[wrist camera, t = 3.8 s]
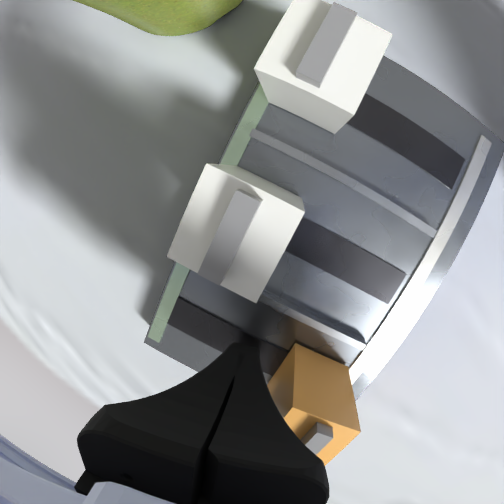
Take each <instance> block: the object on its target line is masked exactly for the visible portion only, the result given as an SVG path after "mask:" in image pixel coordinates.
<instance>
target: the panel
mask: <svg viewBox="0 0 504 504" xmlns="http://www.w3.org/2000/svg"><path fill="white" fill-rule="evenodd" d="M503 152H504V142H503V141H502V140H501V139H499V138H498V137H497V136H496V135H495V134H494V133H493V132H492V131H490V130H489V129H488V128H487V127H486V126H485V125H483V124H482V123H481V122H480V121H479V120H477V119H476V118H475V117H474V116H472V115H471V114H470V113H469V112H467V111H466V110H465V109H464V108H462V107H461V106H460V105H458V104H457V103H456V102H454V101H453V100H452V99H450V98H449V97H448V96H446V95H445V94H443V93H442V92H441V91H439V90H438V89H436V88H435V87H433V86H432V85H430V84H429V83H427V82H426V81H424V80H423V79H421V78H420V77H418V76H417V75H415V74H414V73H412V72H410V71H409V70H407V69H406V68H404V67H402V66H401V65H399V64H397V63H396V62H394V61H392V60H390V59H389V58H387V57H385V56H383V57H382V59H381V61H380V63H379V65H378V67H377V69H376V71H375V74H374V76H373V78H372V80H371V82H370V84H369V86H368V88H367V90H366V92H365V94H364V96H363V98H362V100H361V103H360V105H359V107H358V109H357V111H356V113H355V115H354V116H353V117H352V118H351V119H350V120H349V121H348V122H347V123H346V124H345V125H344V126H343V127H342V128H341V129H339V130H338V131H337V132H336V133H335V134H333V133H331V132H330V131H328V130H326V129H324V128H322V127H320V126H318V125H316V124H314V123H312V122H310V121H308V120H306V119H304V118H302V117H300V116H298V115H295V114H293V113H291V112H289V111H287V110H285V109H283V108H280V107H278V106H276V105H274V104H272V103H269V102H268V100H267V97H266V95H265V93H264V91H263V88H262V86H261V84H260V81H259V82H258V84H257V86H256V88H255V90H254V92H253V94H252V96H251V97H250V99H249V101H248V103H247V105H246V107H245V109H244V111H243V113H242V115H241V117H240V119H239V121H238V123H237V125H236V127H235V129H234V131H233V133H232V135H231V137H230V139H229V141H228V143H227V146H226V148H225V150H224V152H223V154H222V156H221V158H220V160H219V162H218V164H223V165H235V166H239V167H241V168H243V169H245V170H247V171H249V172H251V173H253V174H255V175H257V176H259V177H261V178H263V179H265V180H267V181H270V182H272V183H274V184H276V185H278V186H280V187H281V188H283V189H285V190H287V191H289V192H291V193H293V194H295V195H297V196H299V197H301V198H302V200H303V205H304V209H305V213H304V215H303V217H302V219H301V221H300V223H299V225H298V226H297V228H296V230H295V232H294V234H293V236H292V238H291V240H290V242H289V243H288V245H287V247H286V249H285V251H284V253H283V255H282V257H281V258H280V260H279V262H278V264H277V266H276V268H275V270H274V271H273V273H272V275H271V277H270V279H269V281H268V282H267V284H266V286H265V288H264V290H263V292H262V293H261V295H260V297H259V299H258V301H257V303H254V302H252V301H250V300H248V299H246V298H245V297H243V296H241V295H239V294H237V293H235V292H233V291H231V290H229V289H227V288H225V287H223V286H221V285H220V286H219V285H217V284H215V283H213V282H211V281H209V280H208V279H206V278H204V277H202V276H200V275H198V274H197V273H196V272H194V271H192V270H190V269H189V268H187V267H185V266H183V265H181V264H179V263H177V262H175V263H174V265H173V267H172V270H171V272H170V275H169V277H168V280H167V282H166V285H165V287H164V290H163V293H162V295H161V298H160V300H159V303H158V306H157V308H156V311H155V313H154V316H153V319H152V321H151V324H150V327H149V330H148V332H147V335H146V338H145V341H144V343H146V344H148V345H149V346H151V347H153V348H155V349H156V350H158V351H160V352H162V353H164V354H165V355H167V356H169V357H171V358H173V359H175V360H177V361H178V362H180V363H182V364H184V365H186V366H188V367H190V368H192V369H194V370H196V371H198V372H200V371H201V370H202V369H204V368H205V367H207V366H208V365H209V364H210V363H211V362H213V361H214V360H215V359H216V358H217V357H218V356H220V355H221V354H222V353H223V352H224V351H225V350H226V349H227V348H228V347H229V345H230V344H231V343H233V342H235V343H240V344H244V345H249V346H253V347H258V349H259V350H260V361H261V366H262V371H263V374H264V377H265V381H266V384H268V383H269V381H270V380H271V378H272V377H273V376H274V374H275V373H276V371H277V370H278V368H279V367H280V365H281V364H282V362H283V361H284V359H285V358H286V356H287V355H288V353H289V352H290V350H291V349H292V347H293V346H294V344H295V343H297V344H299V345H301V346H303V347H305V348H308V349H310V350H312V351H314V352H316V353H318V354H321V355H323V356H325V357H327V358H330V359H332V360H334V361H336V362H339V363H341V364H343V365H345V366H348V369H349V374H350V378H351V383H352V388H353V393H354V398H355V401H356V400H357V399H358V398H359V396H360V395H361V394H362V393H363V392H364V391H365V389H366V388H367V387H368V386H369V384H370V383H371V382H372V381H373V380H374V378H375V377H376V376H377V375H378V373H379V372H380V371H381V370H382V368H383V367H384V366H385V364H386V363H387V362H388V360H389V359H390V358H391V357H392V355H393V354H394V353H395V351H396V350H397V348H398V347H399V346H400V344H401V343H402V342H403V340H404V339H405V337H406V336H407V335H408V333H409V332H410V330H411V329H412V327H413V326H414V324H415V323H416V322H417V320H418V319H419V317H420V316H421V314H422V313H423V311H424V309H425V308H426V306H427V305H428V303H429V302H430V300H431V299H432V297H433V295H434V294H435V292H436V290H437V289H438V287H439V286H440V284H441V282H442V281H443V279H444V277H445V275H446V274H447V272H448V270H449V269H450V267H451V265H452V263H453V261H454V260H455V258H456V256H457V254H458V252H459V250H460V249H461V247H462V245H463V243H464V241H465V239H466V237H467V235H468V233H469V231H470V229H471V227H472V225H473V223H474V221H475V219H476V217H477V215H478V213H479V210H480V208H481V206H482V204H483V202H484V199H485V197H486V195H487V193H488V190H489V188H490V186H491V183H492V181H493V178H494V176H495V173H496V171H497V168H498V166H499V163H500V160H501V158H502V155H503Z"/></svg>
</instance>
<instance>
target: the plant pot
mask: <svg viewBox="0 0 504 504" xmlns="http://www.w3.org/2000/svg"><path fill="white" fill-rule="evenodd" d="M73 1H76V2H79V3H82V4H84V5H87V6H89V7H92V8H94V9H97V10H100V11H102V12H105V13H107V14H109V15H112V16H114V17H116V18H118V19H120V20H122V21H124V22H127V23H129V24H131V25H133V26H135V27H137V28H139V29H141V30H143V31H145V32H148V33H151V34H154V35H161V36H178V35H184V34H189V33H193V32H196V31H199V30H202V29H205V28H207V27H209V26H210V25H212V24H213V23H214V22H215V21H216V20H218V19H219V18H221V17H222V16H223V15H225V14H226V13H228V12H229V11H231V10H232V9H234V8H236V7H237V6H238V5H239V4H240V3H241V2H242V0H73Z"/></svg>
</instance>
